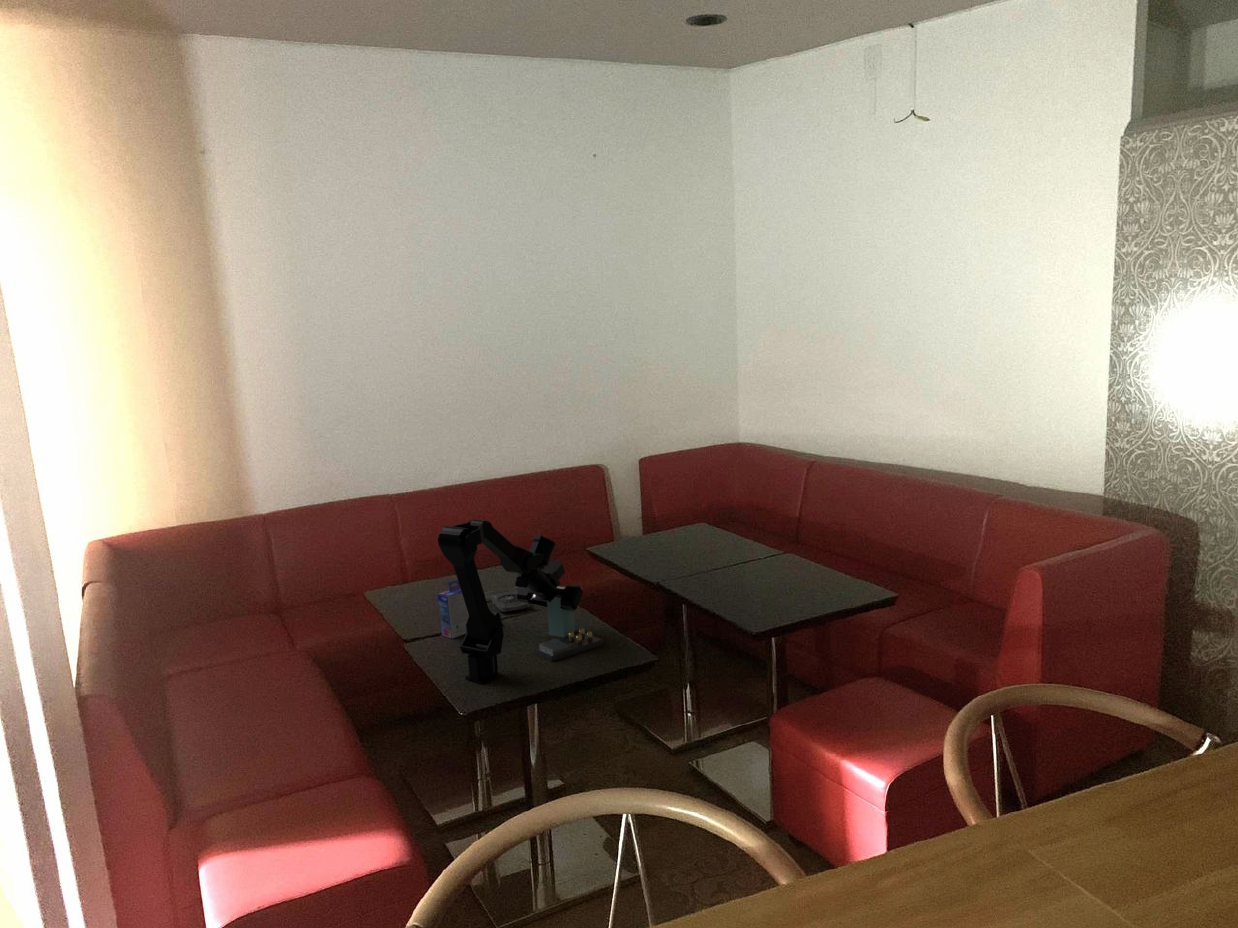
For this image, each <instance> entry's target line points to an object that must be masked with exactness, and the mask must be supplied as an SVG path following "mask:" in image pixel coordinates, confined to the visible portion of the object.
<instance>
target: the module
mask: <svg viewBox="0 0 1238 928" xmlns="http://www.w3.org/2000/svg"><path fill="white" fill-rule="evenodd" d="M557 588H560V589H564V588H566V586H559V587H558V586H557ZM560 600H561V598H558V597H554V600H552V601H551V602H547V607H546V609H547V621H548V623H547V625H548V635H549V636H553V637H559V638H567V637H569V632H574V633H575V631H576V630H575V617H574V613H575V612H572V611H568V610H564V609H561V608H560V607H561V603H560Z"/></svg>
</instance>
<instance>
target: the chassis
mask: <svg viewBox="0 0 1238 928" xmlns="http://www.w3.org/2000/svg"><path fill="white" fill-rule="evenodd" d="M601 646H603V639H602V638H599V637H596V636H595V635H593V631H585V628H583V627H582V628H579V629H578V633H577V634H575V632H569V635H568V636H567V637H564V638H562V639H560V640H559V639H557V638H553V639H549V640H547V641H544V642H540V643H539V645H538V646H536V647H534V648H533V652H534V655H537V656H539V657H541V658H542V659H546V660H547V661H549V662H555V661H558V660H562V659H565V658H568V657H570V656H574V655H578V654H580V653H583V652H586V651H589V650H593V649H595V648H598V647H601Z"/></svg>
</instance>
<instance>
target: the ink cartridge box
mask: <svg viewBox="0 0 1238 928" xmlns="http://www.w3.org/2000/svg"><path fill="white" fill-rule="evenodd" d="M453 584H456V585H454V586H452V585H453ZM447 587H448V590H446V591H442V592H439V593H437V594H436V595H437V603H438V611H439V612H438V613H439V620H440V629H441V636H443V637H446V638H449V639H455V638H457V637H461V636H463V635H466V632H467V630H466V623H467V620H468V617H469V614H468V611H467V607H466V604H465V601H464V598H463V594H462V591H461V588H460V585H459V582H458V579H455V580H453V581H449V582H447Z"/></svg>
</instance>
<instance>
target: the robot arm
mask: <svg viewBox="0 0 1238 928" xmlns="http://www.w3.org/2000/svg"><path fill="white" fill-rule="evenodd" d="M437 544H438V546H439V549H440V550H441V552H442V555H443V556H444V558H446V559H447V560H448V562H449V563H451V565H453V568H454V571H455V575H456V577H457V580H458V582H459V585H460V588H461V591H462V594H463V598H464V601H465V604H466V607H467V611H468V614H469V617H468V620H467V623H466V630H467V632H466V634H464V637H463V639H462V641H461V643H460V645H459V649H460V652H461V654H463V655H467V665H468V675H465V677H464V678H465V680H469V681H472V682H475V683H477V684H480V685H484V684H486V683H488V682H490V681H492V680H493V681H494V680H496V679H497V678H499V677H501V676H502V673H501V672H499V669H498V657H497V655H499V654H501V653H502V647H503V640H504V628H503V627H504V626H505V625H504V623H503V621H502V617H501V614H500V612H499V611H492V610H490V607H489V605H488V602H487V601H486V596H485V595H486V593H485V592H484V589H483V585H482V582H481V581H482V580H481V578H480V575H479V572H478V568H477V566H476V561H475V556H476V553H477V550H478V546H479V545H480V544H483V545H484V546H485V547H486V548H487V549H488V550H489V551H491V552H492V553H493V554H495V555H496V556H497V557H498V558H499V564H500V565H501V566H502V568H503V569H504V571H505V572H507V573H512V574H517V576H516V577H515V578H516V580H515V584H514V587H517V588H518V589H517V591H518V592H517V599H518V600H519V601H520V602H524V603H528V604H530V605H534V606H537V607H538V606H539V607H543V608H547V602H551V601H552V600H554V597H558V598H561V600H560V603H561V607H560V608H561V609H564V610H568V611H572V612H573V613H575V610H577V609H578V606H579V604H580V601H581V598H582V596H583V593H584V590H583V588H582V587H581V586H580V585H575V584H567V585H566V586H565V587H566V588H564V589H560V588H557V586H558V587H560V585H561V582H560V581H561V578H562V577H563V575H565V573H566V569H565V566H564V563H563V561H560V560H551V558H552V556H553V553H554V551H555V549H556V545H557V544H556V542H555V541H554V540H551V539H550V538H548V537H547V538H546V537H544V536H543V535H542V534H535V535H534V537H533V541H532V543H531V546H530V548H529V550H527V549H525V548H522V547H519V546H516V545H515V544H513V543H512V542H511V541H510V539H507V538H506V537H505V536H504V534H502V533H501V532H500V531H499V530H497V529H496V528H495V527H494V526H493V525H492V523H491V522H490V521H488V520H483V519H472V520H469V521H467V522H464V523H460V524H455V525H451V526H449V525H448V526H444V527H442V529H441V531H440V532H439V534H438V537H437ZM484 593H485V594H484ZM481 645H482V646H481Z"/></svg>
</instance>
